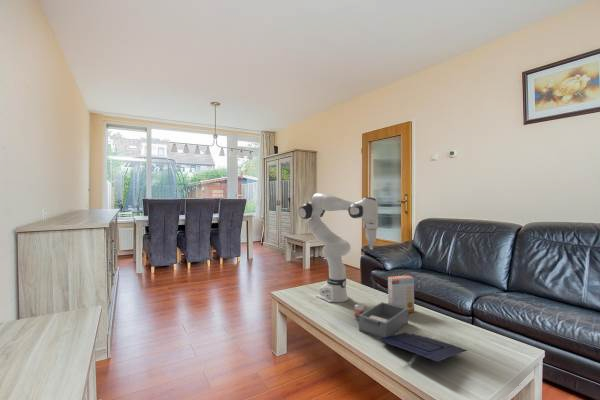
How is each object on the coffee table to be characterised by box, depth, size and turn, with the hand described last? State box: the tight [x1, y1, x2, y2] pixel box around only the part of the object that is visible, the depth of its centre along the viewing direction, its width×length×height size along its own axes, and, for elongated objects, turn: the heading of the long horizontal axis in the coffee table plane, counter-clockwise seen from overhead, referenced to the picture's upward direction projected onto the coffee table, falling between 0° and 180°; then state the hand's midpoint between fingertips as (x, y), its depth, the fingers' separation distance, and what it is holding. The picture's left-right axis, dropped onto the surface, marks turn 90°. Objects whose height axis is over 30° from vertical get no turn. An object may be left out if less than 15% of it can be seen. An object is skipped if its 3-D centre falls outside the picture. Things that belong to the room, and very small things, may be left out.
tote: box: [358, 302, 409, 339], centre depth 150 cm, size 15×27×8 cm, turn 137°
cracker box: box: [387, 275, 415, 314], centre depth 171 cm, size 14×6×21 cm, turn 99°
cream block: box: [369, 315, 388, 322], centre depth 145 cm, size 10×7×5 cm
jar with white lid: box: [354, 302, 365, 322], centre depth 161 cm, size 5×5×8 cm
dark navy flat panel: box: [378, 332, 469, 362], centre depth 126 cm, size 24×30×4 cm
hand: (370, 248), depth 167 cm, fingers open, 8 cm apart
